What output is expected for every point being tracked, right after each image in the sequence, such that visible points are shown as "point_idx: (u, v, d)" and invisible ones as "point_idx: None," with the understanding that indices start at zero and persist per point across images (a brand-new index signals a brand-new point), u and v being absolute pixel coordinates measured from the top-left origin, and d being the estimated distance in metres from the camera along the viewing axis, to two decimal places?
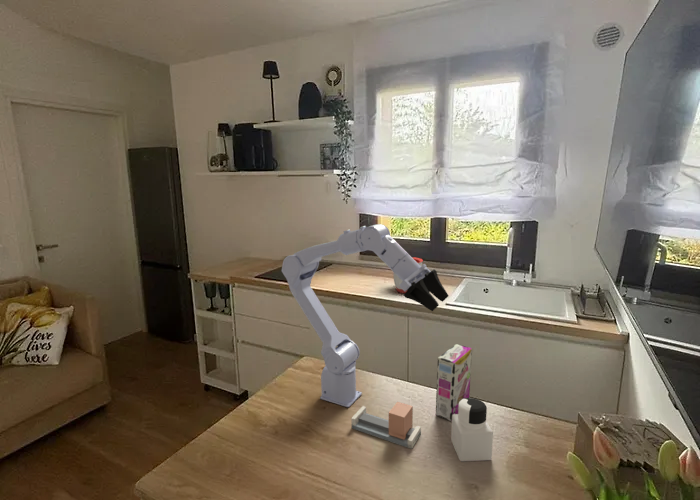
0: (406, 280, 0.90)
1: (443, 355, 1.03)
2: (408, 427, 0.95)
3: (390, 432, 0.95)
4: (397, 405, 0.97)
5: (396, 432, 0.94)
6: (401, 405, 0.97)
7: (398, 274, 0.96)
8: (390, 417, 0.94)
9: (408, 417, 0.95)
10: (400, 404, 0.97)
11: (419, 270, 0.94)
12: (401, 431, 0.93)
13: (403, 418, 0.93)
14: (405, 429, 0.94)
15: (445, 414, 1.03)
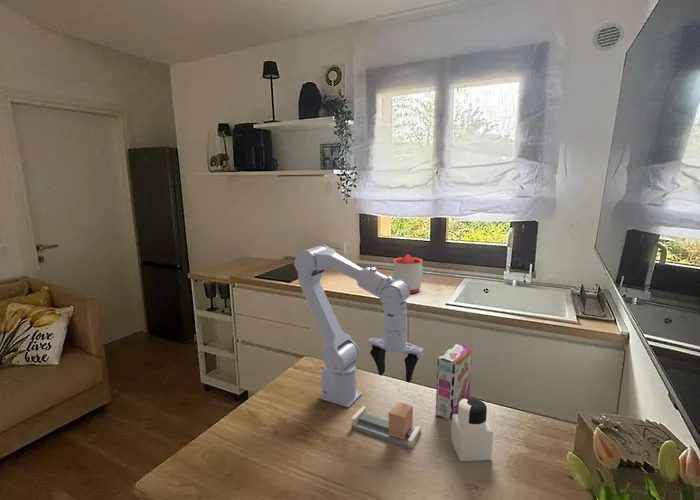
0: (370, 342, 1.05)
1: (443, 355, 1.03)
2: (408, 427, 0.95)
3: (390, 432, 0.95)
4: (397, 405, 0.97)
5: (396, 432, 0.94)
6: (401, 405, 0.97)
7: None
8: (390, 417, 0.94)
9: (408, 417, 0.95)
10: (400, 404, 0.97)
11: (385, 348, 1.01)
12: (401, 431, 0.93)
13: (403, 418, 0.93)
14: (405, 429, 0.94)
15: (445, 414, 1.03)
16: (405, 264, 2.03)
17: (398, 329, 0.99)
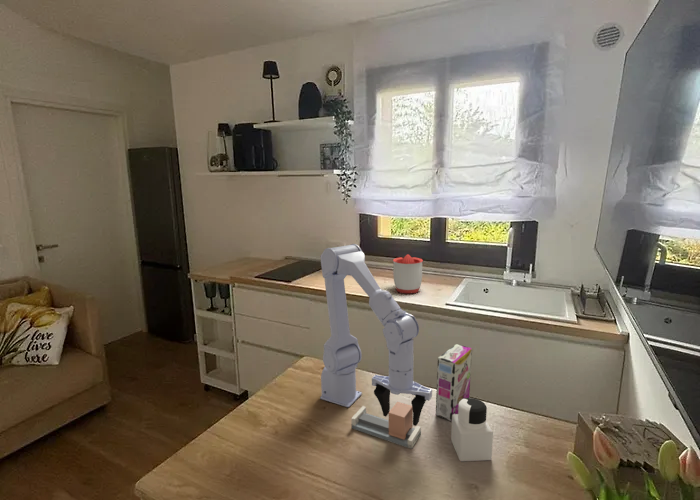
0: (373, 380, 0.97)
1: (443, 355, 1.03)
2: (408, 427, 0.95)
3: (390, 432, 0.95)
4: (397, 405, 0.97)
5: (396, 432, 0.94)
6: (401, 405, 0.97)
7: None
8: (390, 417, 0.94)
9: (408, 417, 0.95)
10: (400, 404, 0.97)
11: (390, 389, 0.93)
12: (401, 431, 0.93)
13: (403, 418, 0.93)
14: (405, 429, 0.94)
15: (445, 414, 1.03)
16: (405, 264, 2.03)
17: (400, 369, 0.91)
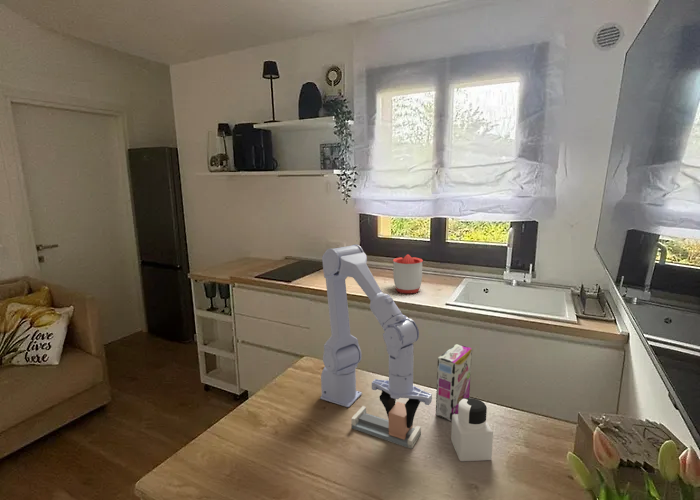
0: (373, 384, 0.97)
1: (443, 355, 1.03)
2: None
3: (390, 432, 0.95)
4: (397, 405, 0.97)
5: (396, 432, 0.94)
6: (401, 405, 0.97)
7: None
8: (390, 417, 0.94)
9: None
10: (400, 404, 0.97)
11: (390, 393, 0.93)
12: (401, 431, 0.93)
13: (403, 418, 0.93)
14: (405, 429, 0.94)
15: (445, 414, 1.03)
16: (405, 264, 2.03)
17: (400, 373, 0.91)
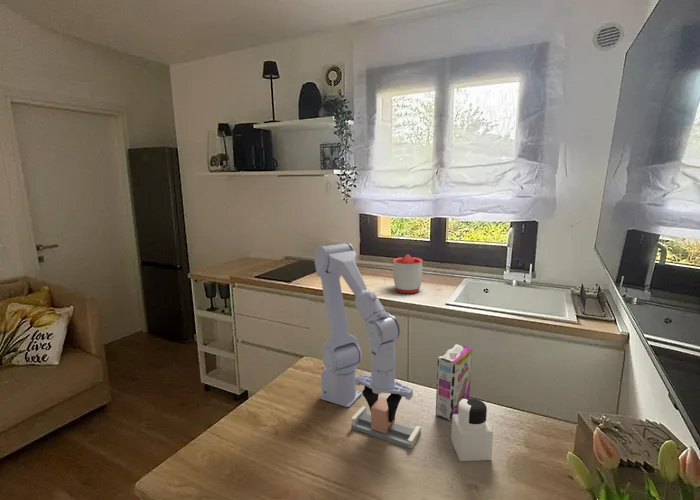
0: (357, 379, 0.99)
1: (443, 355, 1.03)
2: None
3: (373, 426, 0.97)
4: (380, 400, 0.99)
5: (379, 427, 0.96)
6: (384, 400, 0.99)
7: None
8: (372, 411, 0.97)
9: None
10: (383, 399, 1.00)
11: (372, 388, 0.95)
12: (383, 425, 0.96)
13: (385, 412, 0.95)
14: (387, 423, 0.96)
15: (445, 414, 1.03)
16: (405, 264, 2.03)
17: (380, 369, 0.93)
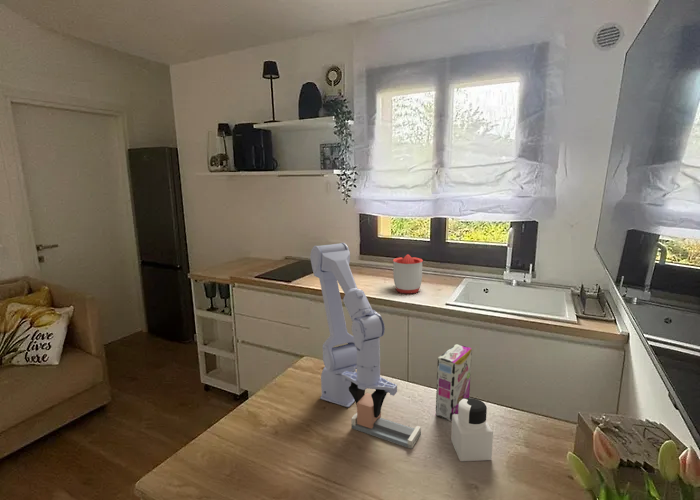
0: (343, 376, 1.01)
1: (443, 355, 1.03)
2: None
3: (359, 421, 0.99)
4: (366, 396, 1.01)
5: (364, 422, 0.98)
6: (370, 396, 1.01)
7: None
8: (358, 407, 0.99)
9: None
10: (369, 395, 1.02)
11: (358, 384, 0.97)
12: (368, 421, 0.98)
13: (370, 408, 0.97)
14: (373, 418, 0.98)
15: (445, 414, 1.03)
16: (405, 264, 2.03)
17: (364, 365, 0.95)
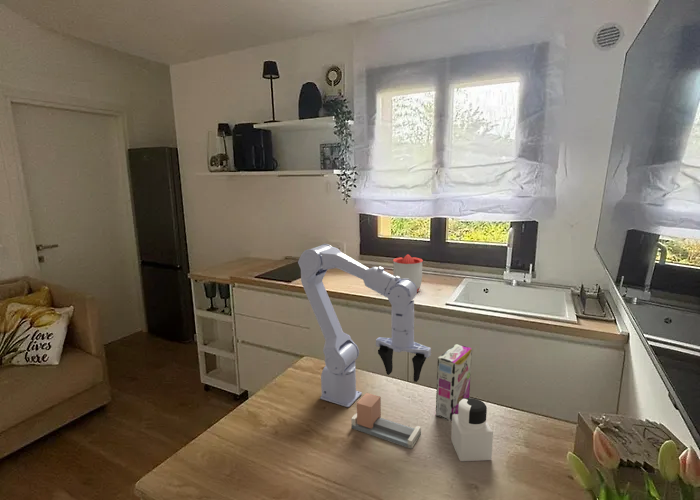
0: (377, 341, 1.05)
1: (443, 355, 1.03)
2: (376, 417, 1.00)
3: (359, 421, 0.99)
4: (366, 396, 1.01)
5: (364, 422, 0.98)
6: (370, 396, 1.01)
7: None
8: (358, 407, 0.99)
9: (376, 407, 0.99)
10: (369, 395, 1.02)
11: (393, 347, 1.01)
12: (368, 421, 0.98)
13: (370, 408, 0.97)
14: (373, 418, 0.98)
15: (445, 414, 1.03)
16: (405, 264, 2.03)
17: (407, 328, 0.99)
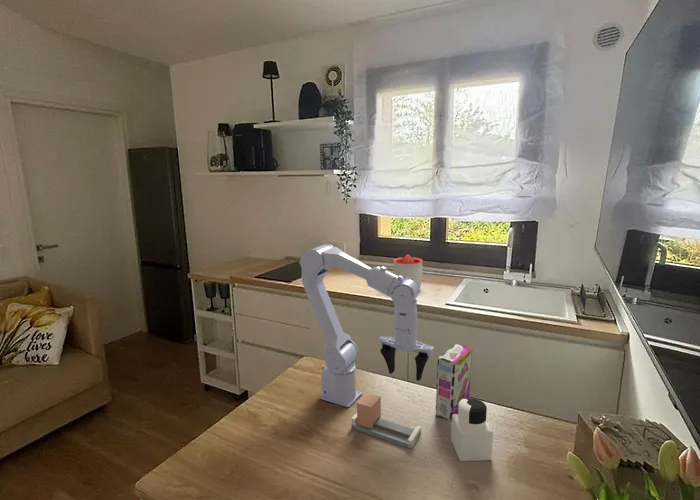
0: (380, 340, 1.06)
1: (443, 355, 1.03)
2: (376, 417, 1.00)
3: (359, 421, 0.99)
4: (366, 396, 1.01)
5: (364, 422, 0.98)
6: (370, 396, 1.01)
7: None
8: (358, 407, 0.99)
9: (376, 407, 0.99)
10: (369, 395, 1.02)
11: (395, 347, 1.02)
12: (368, 421, 0.98)
13: (370, 408, 0.97)
14: (373, 418, 0.98)
15: (445, 414, 1.03)
16: (405, 264, 2.03)
17: (410, 328, 0.99)
